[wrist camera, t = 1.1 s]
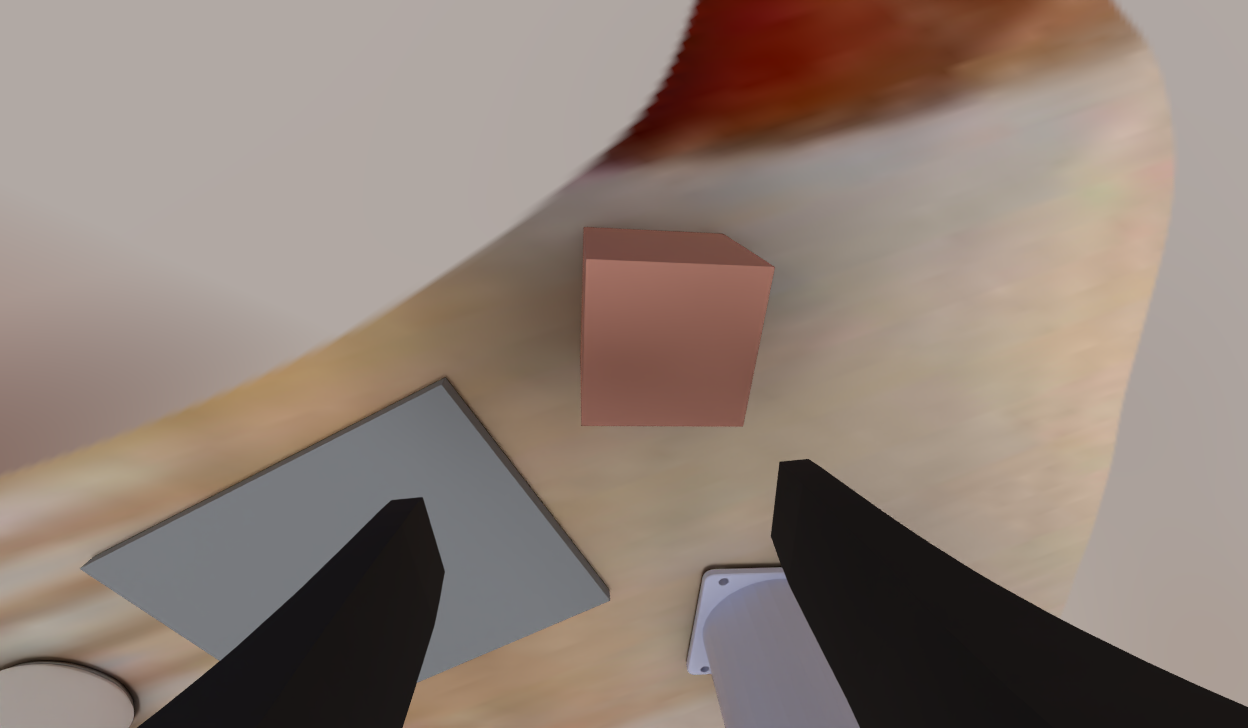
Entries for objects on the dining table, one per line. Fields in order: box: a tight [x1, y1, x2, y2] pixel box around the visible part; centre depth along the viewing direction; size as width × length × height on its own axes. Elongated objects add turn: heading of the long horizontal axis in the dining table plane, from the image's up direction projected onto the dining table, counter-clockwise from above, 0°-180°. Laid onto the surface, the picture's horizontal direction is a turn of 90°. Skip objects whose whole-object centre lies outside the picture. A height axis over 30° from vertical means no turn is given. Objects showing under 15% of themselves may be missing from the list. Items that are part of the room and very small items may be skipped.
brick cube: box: [580, 227, 775, 426], centre depth 16 cm, size 5×5×5 cm
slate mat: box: [80, 378, 610, 682], centre depth 22 cm, size 18×14×1 cm
